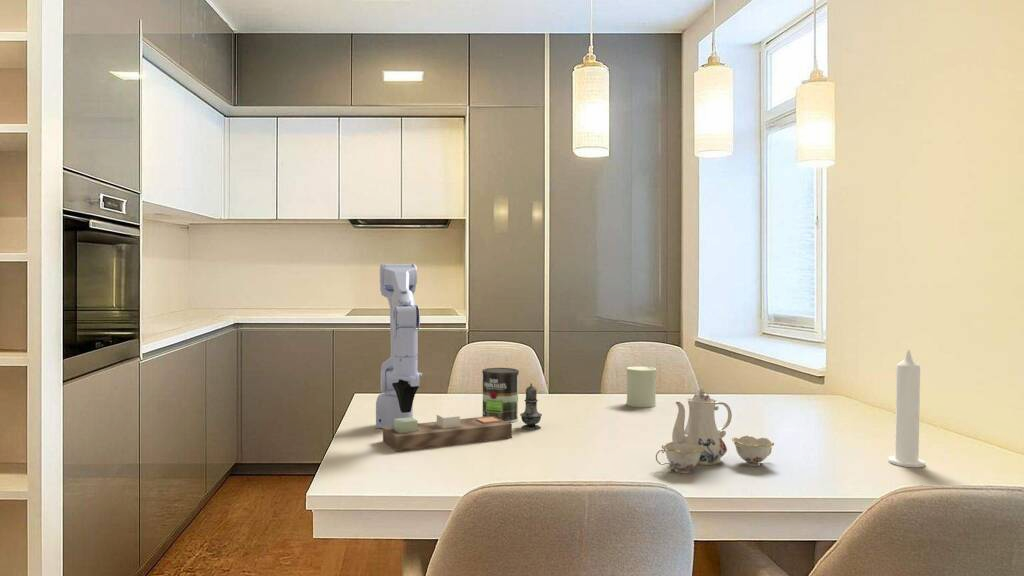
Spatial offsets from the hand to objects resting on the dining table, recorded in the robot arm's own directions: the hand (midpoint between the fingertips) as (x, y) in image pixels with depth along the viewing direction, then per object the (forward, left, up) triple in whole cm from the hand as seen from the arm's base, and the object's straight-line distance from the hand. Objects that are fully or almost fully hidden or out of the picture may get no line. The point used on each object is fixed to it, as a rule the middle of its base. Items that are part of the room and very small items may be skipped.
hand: (405, 412), depth 167 cm
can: (+48, +69, -8) cm, 84 cm away
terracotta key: (+16, +16, -7) cm, 23 cm away
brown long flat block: (+8, +8, -8) cm, 14 cm away
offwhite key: (+8, +8, -5) cm, 12 cm away
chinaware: (+70, +6, -8) cm, 71 cm away
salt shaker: (+24, +27, -8) cm, 37 cm away
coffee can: (+13, +34, -8) cm, 37 cm away
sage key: (0, 0, -5) cm, 5 cm away
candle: (+112, +20, -8) cm, 114 cm away
